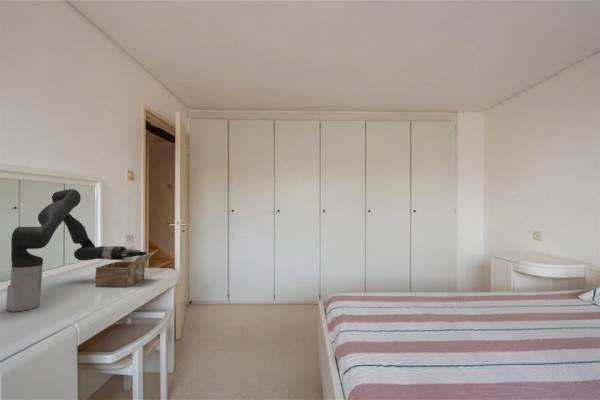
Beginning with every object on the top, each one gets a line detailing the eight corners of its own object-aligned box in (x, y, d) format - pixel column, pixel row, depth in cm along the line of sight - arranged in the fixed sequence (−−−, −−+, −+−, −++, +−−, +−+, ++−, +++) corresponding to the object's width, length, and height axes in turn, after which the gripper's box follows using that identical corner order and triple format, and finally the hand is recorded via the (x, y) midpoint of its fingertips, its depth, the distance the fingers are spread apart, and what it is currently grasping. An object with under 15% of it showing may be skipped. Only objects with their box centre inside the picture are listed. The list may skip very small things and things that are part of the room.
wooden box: (125, 287, 148) (126, 268, 148) (93, 286, 147) (95, 267, 148) (145, 279, 166) (145, 262, 167) (116, 278, 166) (117, 261, 167)
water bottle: (128, 276, 173) (131, 235, 174) (117, 275, 173) (119, 235, 174) (135, 273, 180) (138, 234, 181) (124, 273, 180) (127, 234, 181)
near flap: (127, 266, 149) (128, 267, 149) (138, 256, 149) (139, 257, 149) (144, 261, 166) (145, 261, 166) (154, 252, 166) (155, 252, 166)
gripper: (107, 247, 151) (139, 248, 151) (122, 245, 164) (151, 245, 165) (106, 261, 151) (138, 262, 151) (121, 257, 164) (151, 258, 164)
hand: (145, 253), depth 158 cm, fingers closed
